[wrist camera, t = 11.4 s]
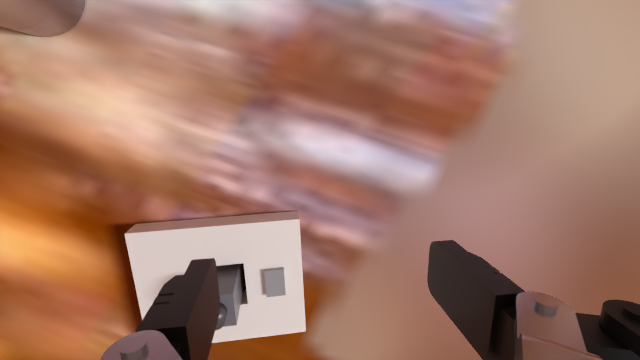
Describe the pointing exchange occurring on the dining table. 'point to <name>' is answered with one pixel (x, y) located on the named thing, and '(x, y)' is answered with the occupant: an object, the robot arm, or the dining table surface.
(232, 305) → the gray knobbed square peg
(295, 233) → the socket plate
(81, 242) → the dining table surface
